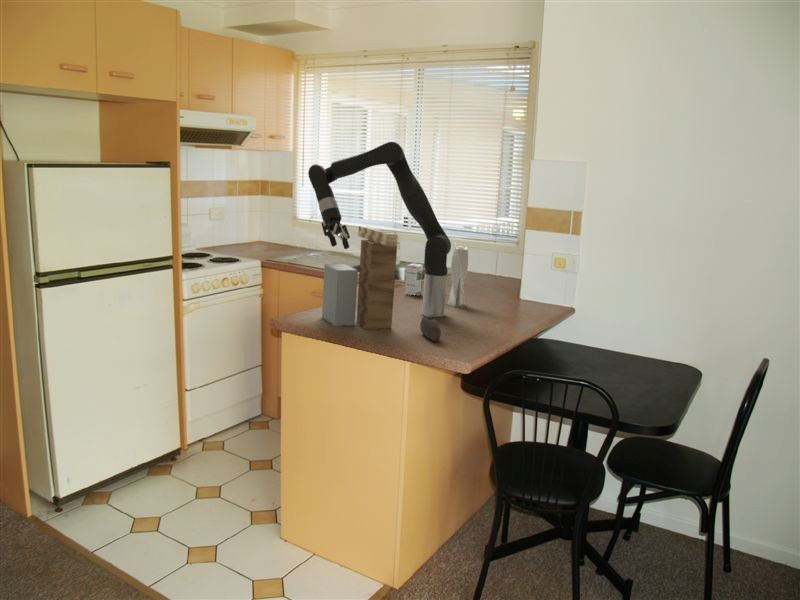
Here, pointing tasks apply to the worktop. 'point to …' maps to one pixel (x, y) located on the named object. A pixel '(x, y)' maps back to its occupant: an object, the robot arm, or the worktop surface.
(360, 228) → the birch beam
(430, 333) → the perforated stone tool
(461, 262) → the skyscraper
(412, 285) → the syrup box
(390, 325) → the tall wooden tower
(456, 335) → the worktop surface
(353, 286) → the grey block
